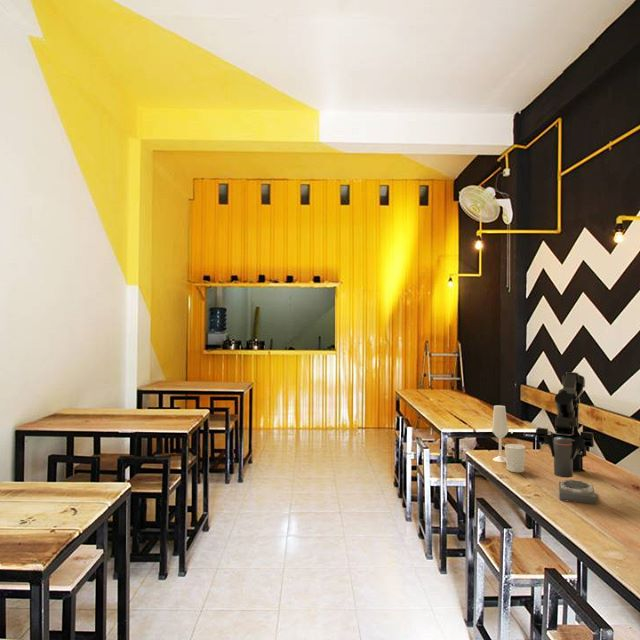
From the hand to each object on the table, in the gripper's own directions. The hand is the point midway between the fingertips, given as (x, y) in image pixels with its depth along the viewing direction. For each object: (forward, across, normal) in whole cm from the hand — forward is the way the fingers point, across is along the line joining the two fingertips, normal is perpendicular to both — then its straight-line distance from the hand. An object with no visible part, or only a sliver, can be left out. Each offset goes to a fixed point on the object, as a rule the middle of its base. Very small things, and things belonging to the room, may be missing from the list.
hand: (562, 457), depth 176 cm
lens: (+4, 0, +6) cm, 7 cm away
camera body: (+9, +4, +10) cm, 14 cm away
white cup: (-6, -20, +26) cm, 33 cm away
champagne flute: (-15, -29, +35) cm, 48 cm away
